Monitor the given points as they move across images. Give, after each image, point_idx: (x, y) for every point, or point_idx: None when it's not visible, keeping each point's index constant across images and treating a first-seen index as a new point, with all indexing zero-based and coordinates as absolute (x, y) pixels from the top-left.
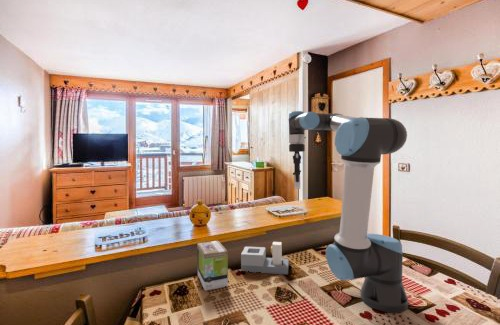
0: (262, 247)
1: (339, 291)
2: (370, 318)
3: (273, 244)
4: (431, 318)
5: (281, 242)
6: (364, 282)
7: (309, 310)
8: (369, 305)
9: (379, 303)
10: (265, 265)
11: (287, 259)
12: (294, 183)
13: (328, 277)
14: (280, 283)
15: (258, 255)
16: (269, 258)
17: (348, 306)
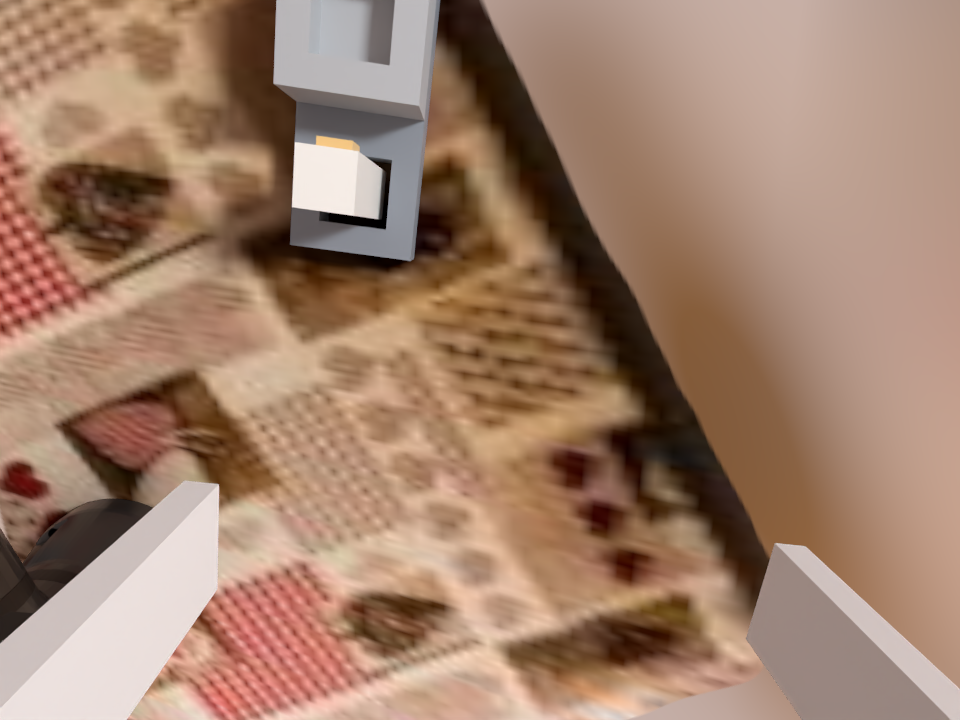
0: (415, 83)
1: (168, 438)
2: (4, 487)
3: (299, 151)
4: None
5: (345, 214)
6: (86, 545)
7: (5, 296)
8: (72, 510)
9: (36, 544)
10: (309, 117)
11: (399, 253)
12: (106, 551)
13: (287, 424)
14: (203, 198)
15: (275, 52)
16: (411, 145)
17: (63, 440)
